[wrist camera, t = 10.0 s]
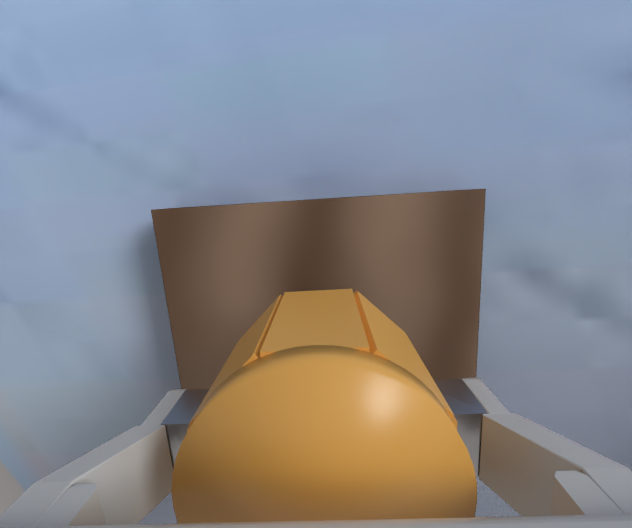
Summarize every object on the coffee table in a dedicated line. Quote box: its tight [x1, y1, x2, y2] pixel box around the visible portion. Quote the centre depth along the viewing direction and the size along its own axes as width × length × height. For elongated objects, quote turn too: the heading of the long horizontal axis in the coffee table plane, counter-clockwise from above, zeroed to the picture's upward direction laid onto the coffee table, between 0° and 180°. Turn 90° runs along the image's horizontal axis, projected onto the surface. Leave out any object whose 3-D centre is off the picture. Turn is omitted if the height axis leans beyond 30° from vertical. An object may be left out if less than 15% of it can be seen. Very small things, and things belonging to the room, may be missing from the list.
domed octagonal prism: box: [172, 289, 477, 524], centre depth 9 cm, size 6×6×5 cm
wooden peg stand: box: [151, 189, 486, 389], centre depth 12 cm, size 14×12×9 cm
